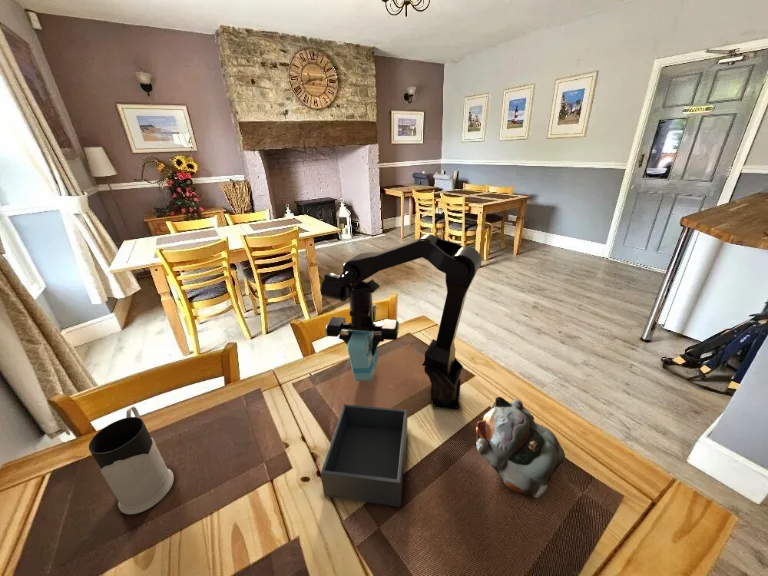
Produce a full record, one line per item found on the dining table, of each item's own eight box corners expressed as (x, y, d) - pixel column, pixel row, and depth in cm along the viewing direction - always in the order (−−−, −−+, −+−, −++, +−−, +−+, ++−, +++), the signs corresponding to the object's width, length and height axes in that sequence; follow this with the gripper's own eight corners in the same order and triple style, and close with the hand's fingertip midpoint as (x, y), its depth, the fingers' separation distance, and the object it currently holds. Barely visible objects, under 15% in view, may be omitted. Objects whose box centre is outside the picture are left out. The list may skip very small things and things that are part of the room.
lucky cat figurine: (528, 514, 54) (495, 452, 51) (481, 476, 65) (453, 424, 62) (578, 455, 59) (551, 396, 56) (527, 430, 70) (502, 379, 68)
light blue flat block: (371, 383, 81) (364, 345, 76) (355, 383, 82) (346, 346, 77) (378, 355, 92) (372, 320, 87) (363, 355, 93) (356, 321, 88)
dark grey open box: (407, 431, 70) (407, 409, 67) (400, 506, 56) (400, 483, 53) (346, 425, 72) (343, 404, 69) (324, 496, 57) (320, 473, 55)
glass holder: (113, 523, 54) (75, 466, 48) (129, 458, 66) (101, 405, 59) (171, 499, 58) (143, 443, 51) (177, 441, 69) (155, 389, 63)
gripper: (400, 291, 84) (401, 339, 91) (334, 289, 87) (339, 336, 94) (396, 311, 74) (397, 363, 81) (321, 308, 77) (328, 359, 84)
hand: (364, 354), depth 85 cm, fingers closed on light blue flat block, 5 cm apart
